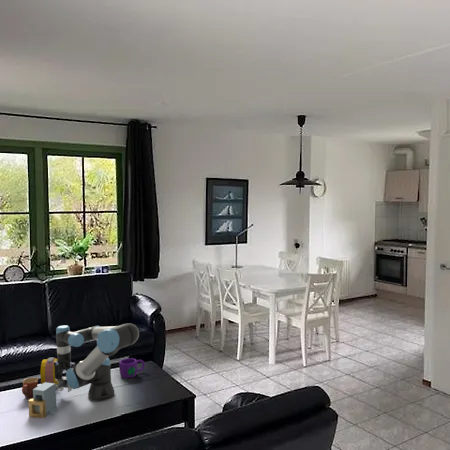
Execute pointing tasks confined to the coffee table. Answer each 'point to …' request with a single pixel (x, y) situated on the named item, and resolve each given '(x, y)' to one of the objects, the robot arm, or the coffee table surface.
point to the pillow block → (46, 397)
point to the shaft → (62, 383)
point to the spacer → (32, 408)
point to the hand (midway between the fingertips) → (65, 390)
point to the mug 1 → (29, 387)
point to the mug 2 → (129, 367)
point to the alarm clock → (48, 371)
